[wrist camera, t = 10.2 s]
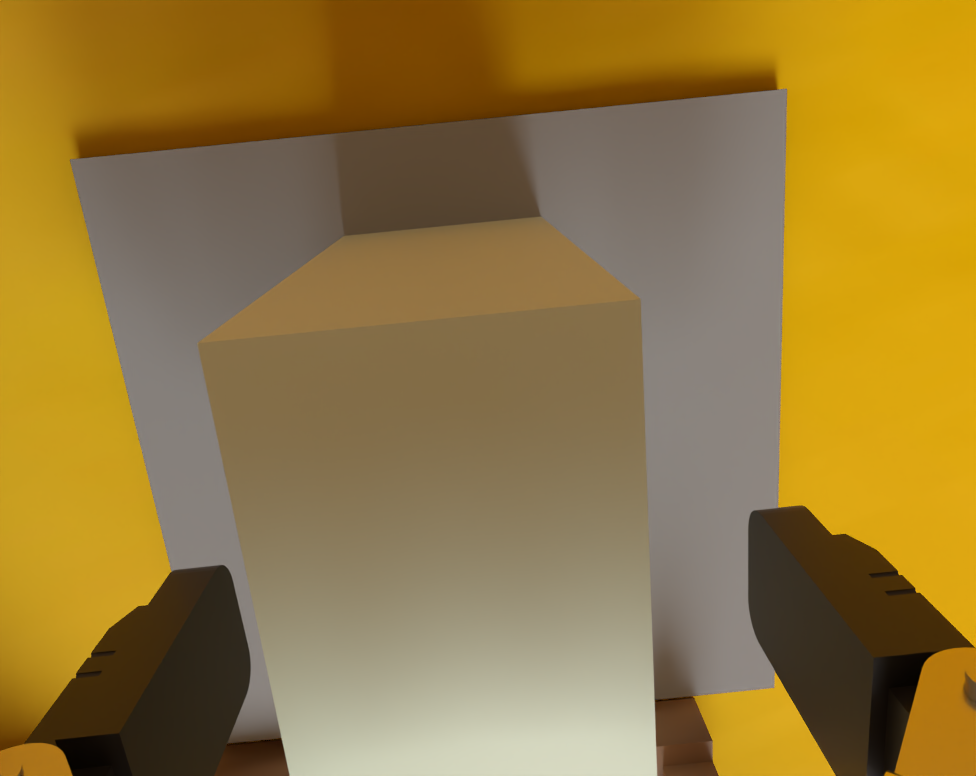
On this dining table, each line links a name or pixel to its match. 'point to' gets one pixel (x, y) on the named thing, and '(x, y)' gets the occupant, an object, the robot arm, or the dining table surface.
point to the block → (445, 504)
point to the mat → (473, 199)
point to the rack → (679, 747)
